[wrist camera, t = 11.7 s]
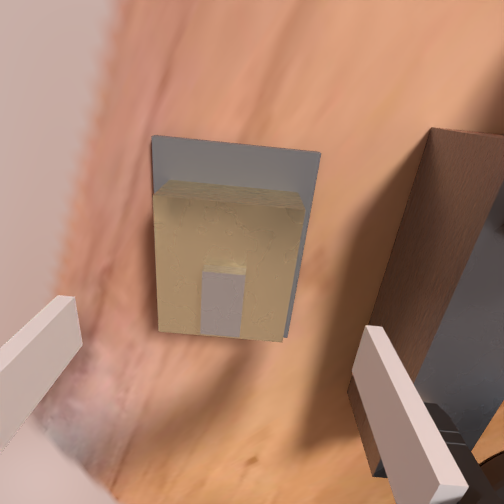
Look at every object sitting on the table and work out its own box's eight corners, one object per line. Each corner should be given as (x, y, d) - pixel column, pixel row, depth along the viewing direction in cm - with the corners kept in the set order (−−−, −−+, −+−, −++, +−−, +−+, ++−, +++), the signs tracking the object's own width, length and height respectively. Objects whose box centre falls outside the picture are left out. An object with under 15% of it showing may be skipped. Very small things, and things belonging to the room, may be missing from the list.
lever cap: (279, 310, 24) (283, 351, 20) (172, 300, 23) (154, 339, 20) (298, 192, 20) (307, 215, 16) (169, 179, 20) (147, 199, 16)
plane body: (408, 397, 28) (488, 558, 18) (347, 392, 28) (395, 551, 18) (523, 137, 19) (822, 179, 9) (431, 127, 19) (629, 159, 9)
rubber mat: (286, 332, 25) (287, 337, 25) (161, 321, 25) (159, 326, 25) (319, 151, 19) (321, 153, 19) (154, 135, 19) (151, 136, 18)
